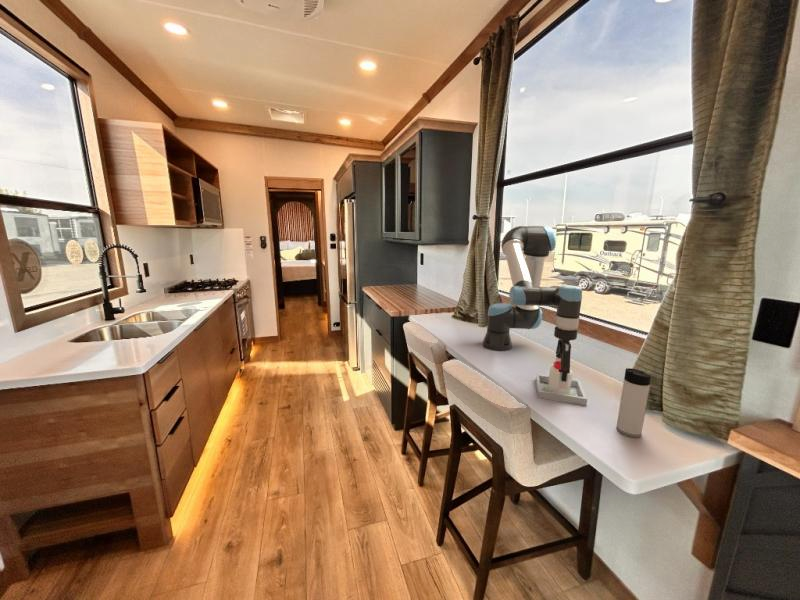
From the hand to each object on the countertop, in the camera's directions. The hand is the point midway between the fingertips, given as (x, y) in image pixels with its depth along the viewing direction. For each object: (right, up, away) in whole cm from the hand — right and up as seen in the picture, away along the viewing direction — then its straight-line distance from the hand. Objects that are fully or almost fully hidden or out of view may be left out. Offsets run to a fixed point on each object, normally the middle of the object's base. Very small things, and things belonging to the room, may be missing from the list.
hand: (560, 380), depth 122 cm
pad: (0, -4, +1) cm, 4 cm away
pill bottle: (0, -4, +1) cm, 4 cm away
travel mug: (+9, -10, -24) cm, 28 cm away
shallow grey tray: (0, -4, +1) cm, 4 cm away
